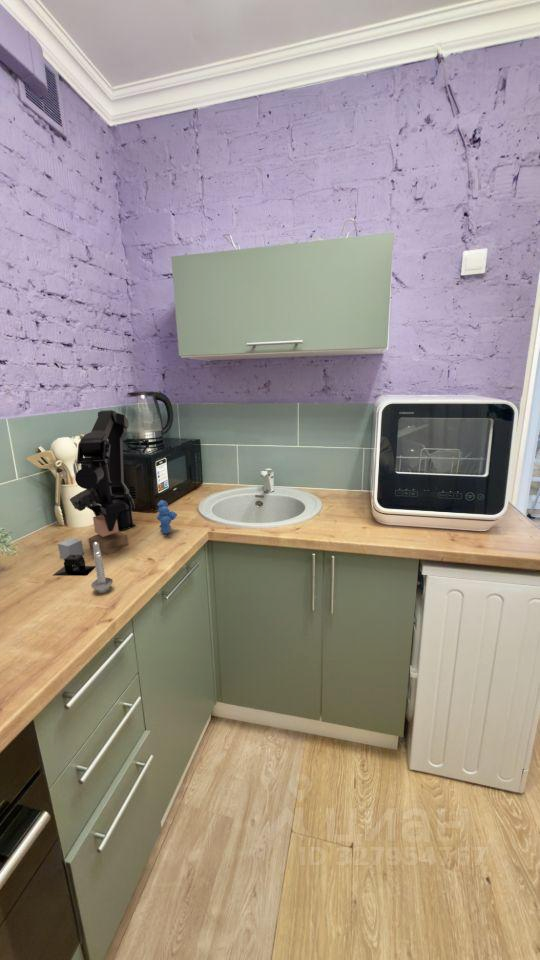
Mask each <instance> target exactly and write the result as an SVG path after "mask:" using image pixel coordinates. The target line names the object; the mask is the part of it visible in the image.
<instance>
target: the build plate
mask: <svg viewBox="0 0 540 960" xmlns="http://www.w3.org/2000/svg"><path fill="white" fill-rule="evenodd" d="M63 559H64V558H63ZM63 561H64V562H63V567H61V568H60V569H59V570H57V571H56V572H55V573H53V574H52V576H60V577H61V576H67V577H69V576H71V577H75V576H77V577H78V576H79V577H81V576H82V577H85V576H86V577H87V576H88V575H89V574H91V572H93V570H94V569H96V568H95V567H96V565H86V561H85V558H84V554H83V555H69V556H68V557H67V558H65V559H64V560H63Z"/></svg>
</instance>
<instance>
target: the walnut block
mask: <svg viewBox="0 0 540 960" xmlns="http://www.w3.org/2000/svg"><path fill="white" fill-rule="evenodd" d="M128 538H129V537H128V534H127V533H124V532H121V531H119V532H116V533H113V534H110V535H107V536H104V537H102V536H100V535H99V534H96V535H93V536H90V537H88V538H87V539H88V545H89V550H91V551H93V552H94V549H93V543H94V542H97V543H99V549H100V550H101V555H104V556H107V555H109V554H111V553H114V552H116V551H119V550H121V549H123V547H124V548H125V547H128V546H129V539H128Z"/></svg>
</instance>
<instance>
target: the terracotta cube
mask: <svg viewBox="0 0 540 960" xmlns="http://www.w3.org/2000/svg"><path fill="white" fill-rule="evenodd" d="M92 519H93V526H94V531H95V532H94V533H96V535H98V534H99V535H100V536H102V537H104V536H107V535H110V534H113V533H116V532H120V531H119V530H118V523H117V520H116V523H115V526H114V528H113V531H109V530H108V528H107V524H106V521H105V518H104V516H103V515H99V516H93V517H92Z"/></svg>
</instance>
